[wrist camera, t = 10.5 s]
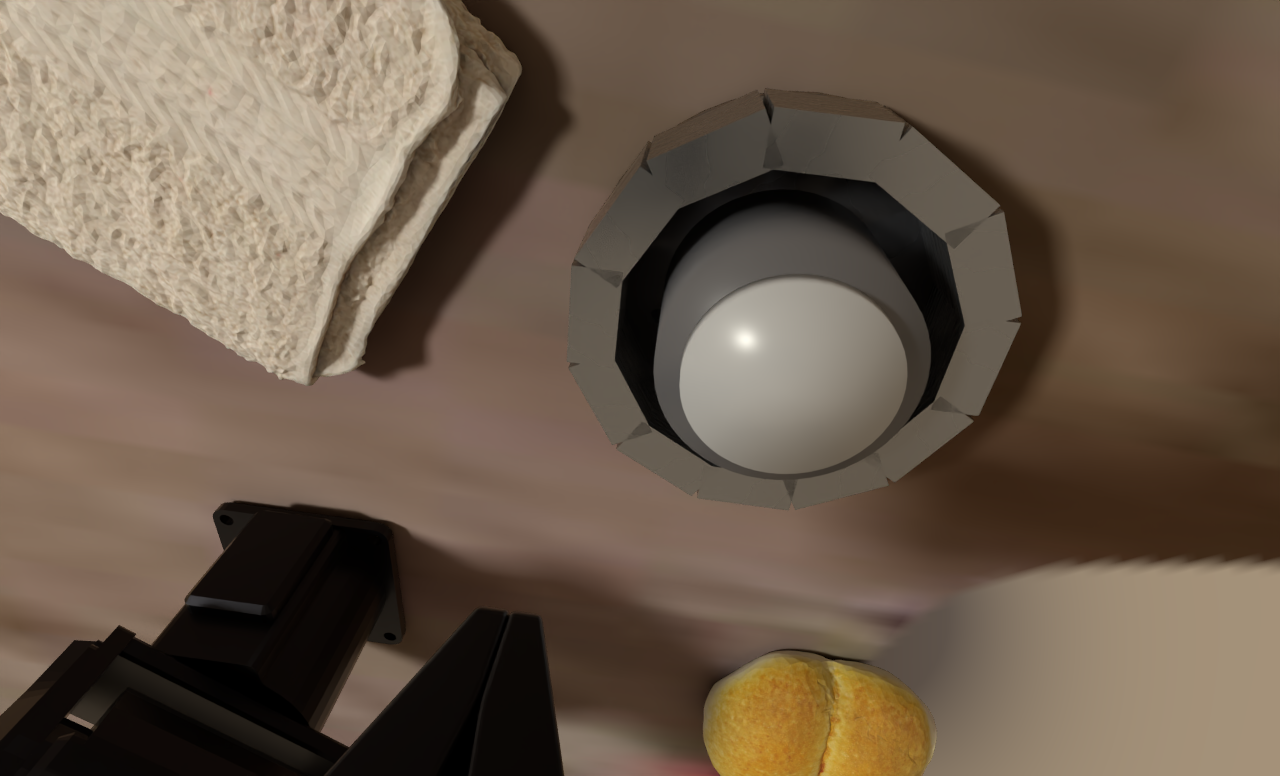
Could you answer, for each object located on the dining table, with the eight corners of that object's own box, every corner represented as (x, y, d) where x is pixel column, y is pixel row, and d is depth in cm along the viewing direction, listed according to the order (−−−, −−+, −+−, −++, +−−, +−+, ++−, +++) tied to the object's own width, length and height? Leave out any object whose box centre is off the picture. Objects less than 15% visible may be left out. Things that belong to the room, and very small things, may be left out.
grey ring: (901, 464, 21) (926, 528, 19) (577, 421, 21) (561, 479, 19) (1039, 119, 16) (1101, 147, 13) (600, 65, 16) (580, 82, 13)
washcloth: (369, 372, 22) (323, 427, 19) (-266, 2, 17) (-441, 7, 15) (558, 38, 16) (529, 52, 13) (-317, -644, 11) (-617, -826, 9)
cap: (853, 404, 20) (888, 508, 16) (652, 379, 20) (639, 476, 16) (918, 204, 16) (982, 274, 13) (677, 175, 17) (669, 236, 13)
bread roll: (722, 627, 26) (725, 722, 23) (944, 662, 26) (979, 764, 23) (686, 741, 31) (684, 836, 27) (876, 772, 31) (897, 870, 27)
